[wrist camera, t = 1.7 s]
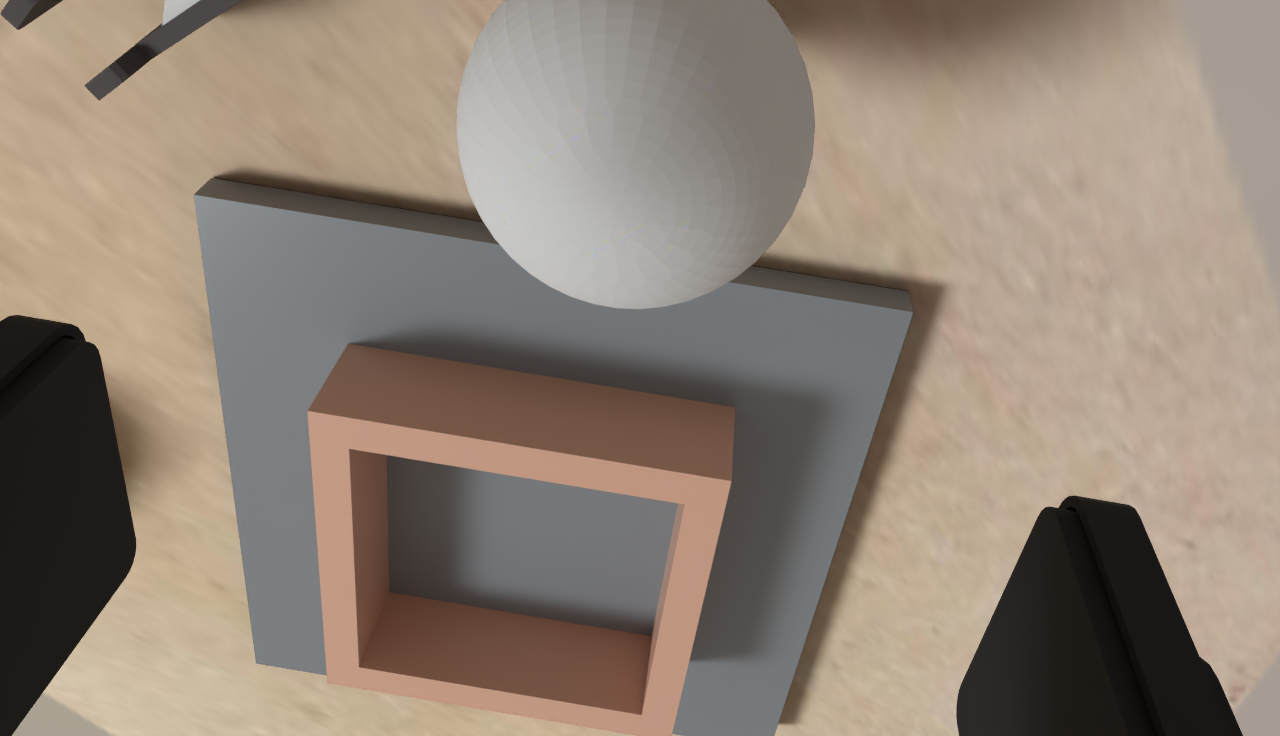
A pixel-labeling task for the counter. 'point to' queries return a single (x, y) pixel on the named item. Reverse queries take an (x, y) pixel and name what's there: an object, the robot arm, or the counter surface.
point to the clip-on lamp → (184, 12)
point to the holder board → (531, 466)
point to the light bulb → (635, 142)
